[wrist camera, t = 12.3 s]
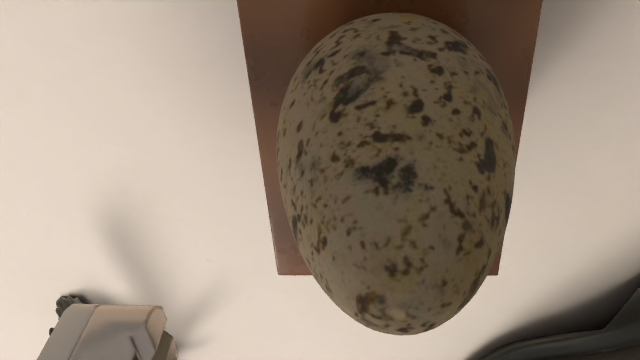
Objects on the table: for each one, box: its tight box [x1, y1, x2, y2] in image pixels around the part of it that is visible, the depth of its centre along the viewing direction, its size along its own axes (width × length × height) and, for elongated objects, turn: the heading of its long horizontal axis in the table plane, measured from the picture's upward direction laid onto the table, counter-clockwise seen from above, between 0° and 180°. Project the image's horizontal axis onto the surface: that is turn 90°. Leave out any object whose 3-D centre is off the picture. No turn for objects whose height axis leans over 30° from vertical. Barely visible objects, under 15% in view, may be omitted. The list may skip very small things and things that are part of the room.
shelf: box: [237, 0, 543, 275], centre depth 21 cm, size 18×9×8 cm, turn 4°
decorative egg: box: [276, 12, 515, 335], centre depth 14 cm, size 6×6×10 cm
